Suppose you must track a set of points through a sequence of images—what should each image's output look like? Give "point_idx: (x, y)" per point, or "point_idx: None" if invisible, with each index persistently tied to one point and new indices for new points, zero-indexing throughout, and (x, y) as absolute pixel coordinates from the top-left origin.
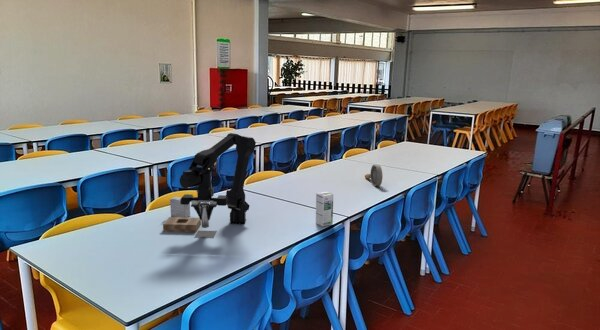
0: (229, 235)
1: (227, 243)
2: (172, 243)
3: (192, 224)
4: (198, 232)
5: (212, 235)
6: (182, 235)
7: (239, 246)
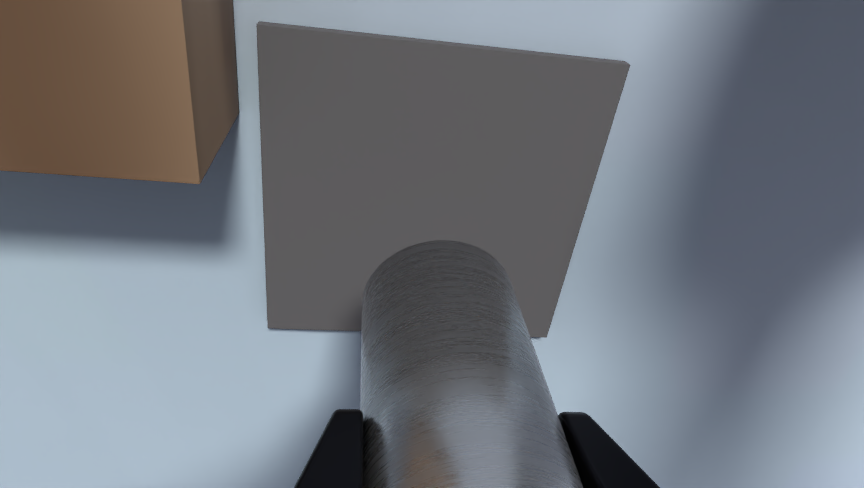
0: (783, 222)
1: (690, 426)
2: (37, 450)
3: (91, 145)
4: (285, 133)
5: (536, 256)
6: (30, 221)
7: (787, 472)
